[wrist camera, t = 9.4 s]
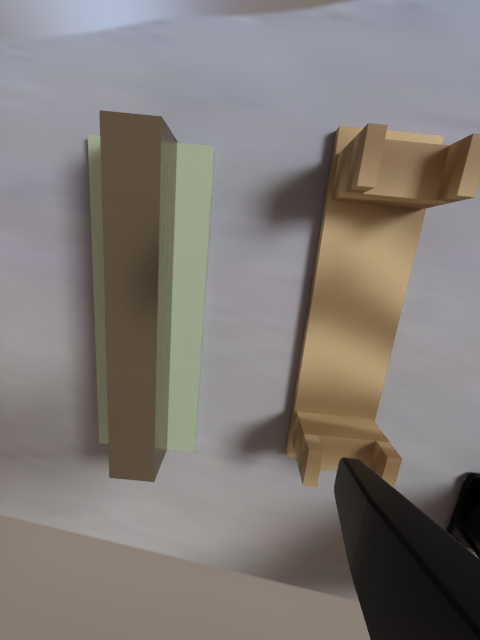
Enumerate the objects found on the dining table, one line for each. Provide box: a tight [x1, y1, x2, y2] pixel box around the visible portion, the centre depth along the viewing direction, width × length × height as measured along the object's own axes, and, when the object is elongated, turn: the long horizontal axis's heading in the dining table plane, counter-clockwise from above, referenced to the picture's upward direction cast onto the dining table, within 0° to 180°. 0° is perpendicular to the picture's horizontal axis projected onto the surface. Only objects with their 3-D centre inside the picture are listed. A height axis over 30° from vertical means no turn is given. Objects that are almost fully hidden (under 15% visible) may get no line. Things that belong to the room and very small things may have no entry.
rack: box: [286, 123, 480, 488], centre depth 16 cm, size 21×6×4 cm, turn 175°
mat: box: [88, 134, 214, 452], centre depth 18 cm, size 20×7×1 cm, turn 175°
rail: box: [100, 111, 177, 482], centre depth 17 cm, size 20×3×3 cm, turn 175°
